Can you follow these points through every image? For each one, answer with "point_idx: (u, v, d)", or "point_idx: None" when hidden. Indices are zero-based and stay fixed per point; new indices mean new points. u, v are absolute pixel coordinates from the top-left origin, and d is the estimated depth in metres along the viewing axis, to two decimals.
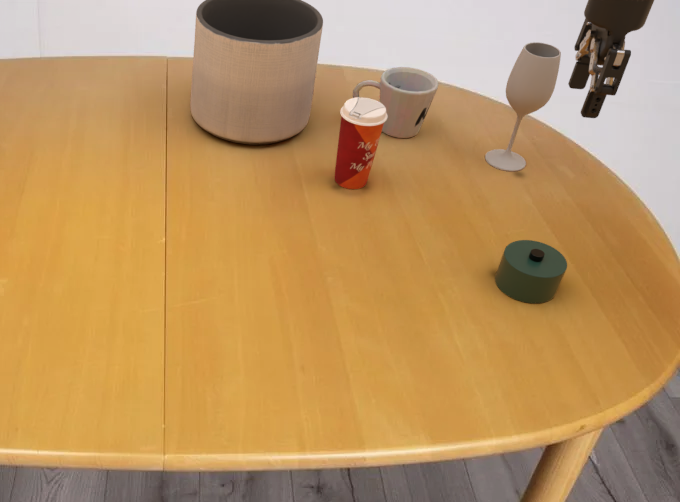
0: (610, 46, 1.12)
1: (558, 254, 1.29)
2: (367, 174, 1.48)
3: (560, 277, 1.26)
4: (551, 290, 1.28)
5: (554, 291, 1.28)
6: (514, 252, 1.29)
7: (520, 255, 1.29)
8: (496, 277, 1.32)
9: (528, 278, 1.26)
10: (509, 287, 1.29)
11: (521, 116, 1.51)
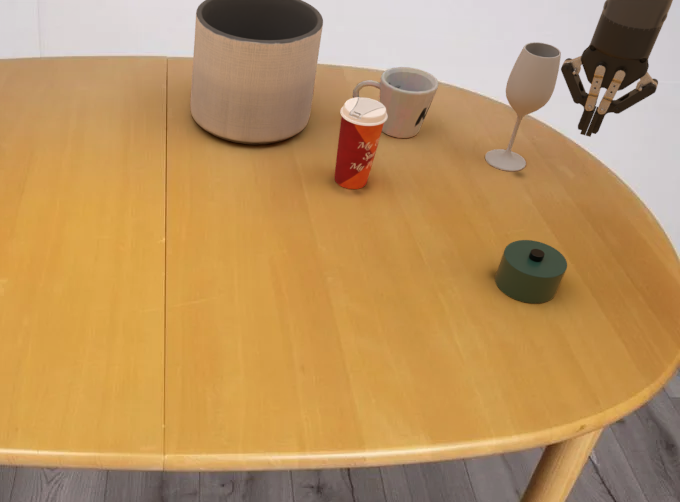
0: (643, 75, 1.16)
1: (558, 254, 1.29)
2: (367, 174, 1.48)
3: (560, 277, 1.26)
4: (551, 290, 1.28)
5: (554, 291, 1.28)
6: (514, 252, 1.29)
7: (520, 255, 1.29)
8: (496, 277, 1.32)
9: (528, 278, 1.26)
10: (509, 287, 1.29)
11: (521, 116, 1.51)
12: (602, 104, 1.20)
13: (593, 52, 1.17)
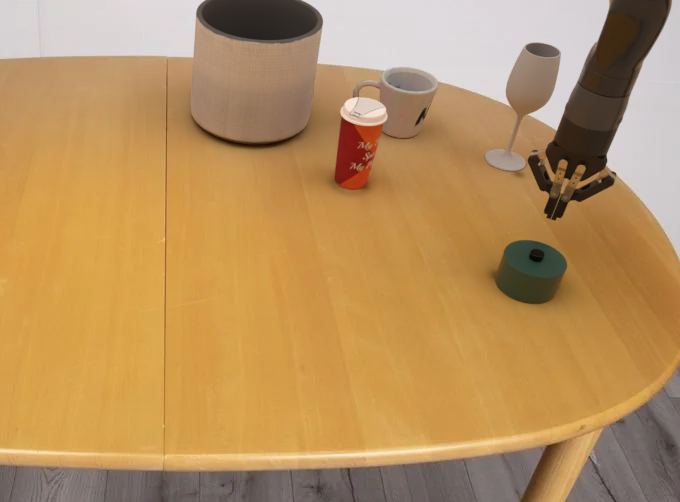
0: (602, 169, 1.26)
1: (558, 254, 1.29)
2: (367, 174, 1.48)
3: (560, 277, 1.26)
4: (551, 290, 1.28)
5: (554, 291, 1.28)
6: (514, 252, 1.29)
7: (520, 255, 1.29)
8: (496, 277, 1.32)
9: (528, 278, 1.26)
10: (509, 287, 1.29)
11: (521, 116, 1.51)
12: (565, 193, 1.30)
13: (556, 147, 1.27)
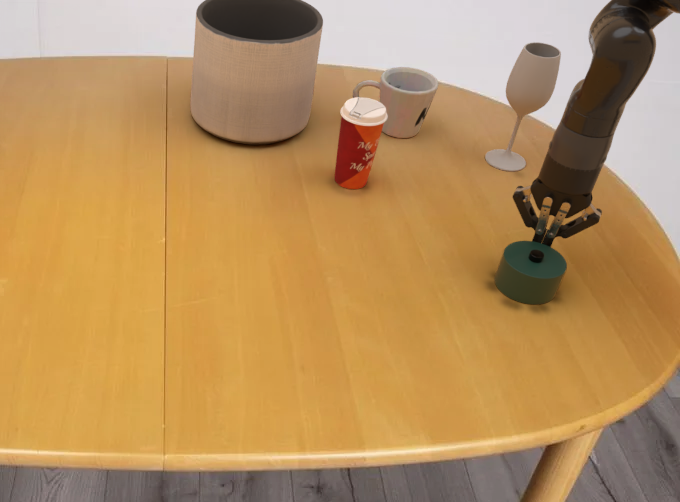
0: (587, 207, 1.25)
1: (558, 255, 1.29)
2: (367, 174, 1.48)
3: (559, 278, 1.26)
4: (551, 291, 1.27)
5: (553, 292, 1.28)
6: (514, 253, 1.29)
7: (520, 255, 1.29)
8: (496, 278, 1.32)
9: (527, 278, 1.26)
10: (508, 287, 1.29)
11: (521, 116, 1.51)
12: (551, 229, 1.29)
13: (541, 184, 1.26)
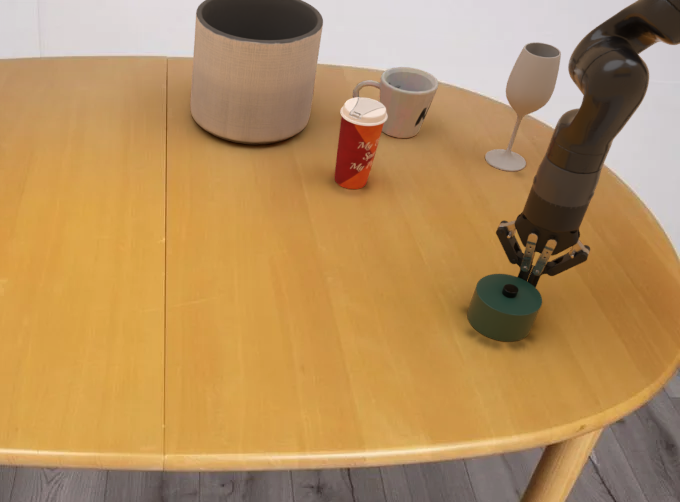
0: (575, 244, 1.18)
1: (537, 296, 1.22)
2: (367, 174, 1.48)
3: (525, 317, 1.19)
4: (515, 330, 1.21)
5: (520, 332, 1.21)
6: (489, 283, 1.24)
7: (494, 287, 1.23)
8: (469, 306, 1.26)
9: (490, 310, 1.20)
10: (473, 317, 1.24)
11: (521, 116, 1.51)
12: (537, 266, 1.22)
13: (525, 220, 1.19)
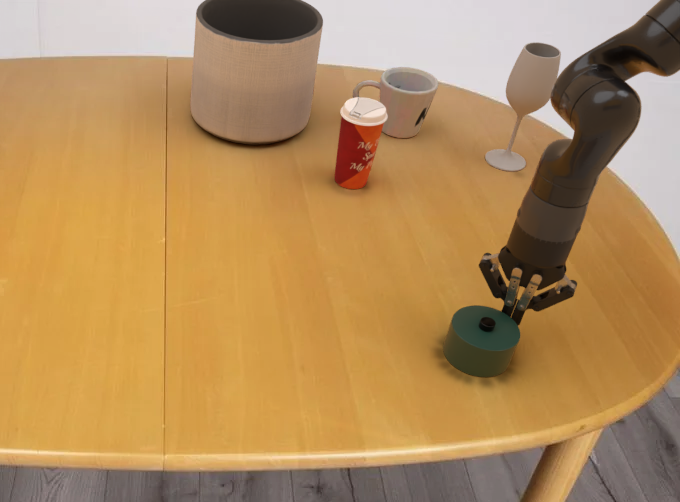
0: (561, 279, 1.12)
1: (516, 333, 1.16)
2: (367, 174, 1.48)
3: (496, 353, 1.14)
4: (486, 365, 1.15)
5: (491, 368, 1.16)
6: (468, 314, 1.19)
7: (472, 318, 1.18)
8: None
9: (460, 341, 1.15)
10: (446, 346, 1.19)
11: (521, 116, 1.51)
12: (521, 301, 1.17)
13: (509, 254, 1.13)
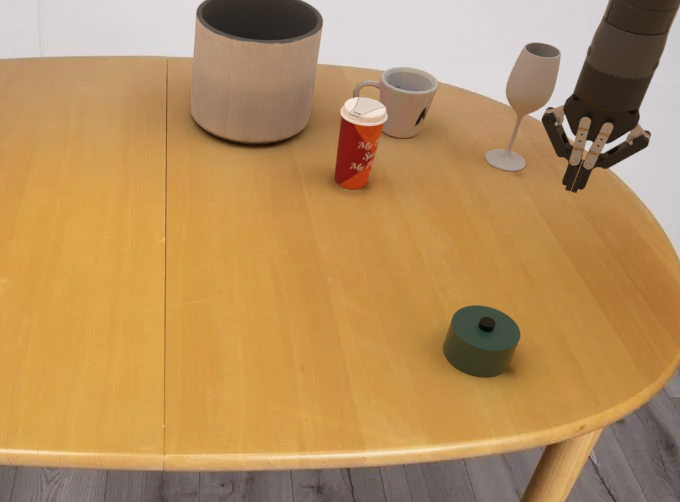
0: (634, 127, 1.03)
1: (516, 333, 1.16)
2: (367, 174, 1.48)
3: (496, 353, 1.14)
4: (486, 365, 1.15)
5: (491, 368, 1.16)
6: (468, 314, 1.19)
7: (472, 318, 1.18)
8: None
9: (460, 341, 1.15)
10: (446, 346, 1.19)
11: (521, 116, 1.51)
12: (588, 158, 1.07)
13: (577, 102, 1.04)
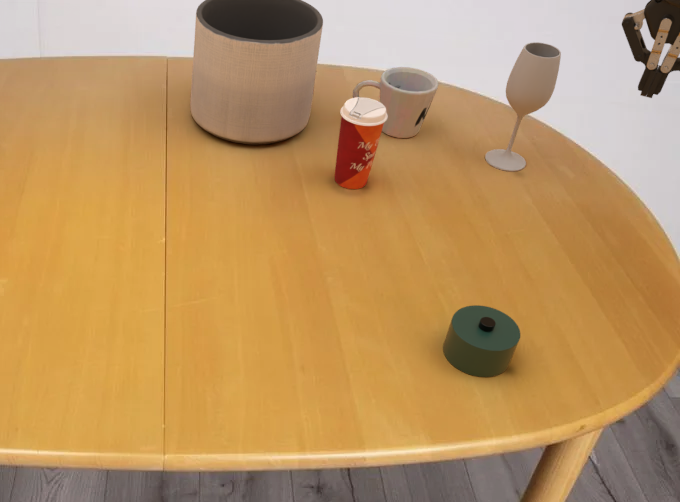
0: None
1: (516, 333, 1.16)
2: (367, 174, 1.48)
3: (496, 353, 1.14)
4: (486, 365, 1.15)
5: (491, 368, 1.16)
6: (468, 314, 1.19)
7: (472, 318, 1.18)
8: None
9: (460, 341, 1.15)
10: (446, 346, 1.19)
11: (521, 116, 1.51)
12: (666, 61, 1.12)
13: (658, 4, 1.08)
